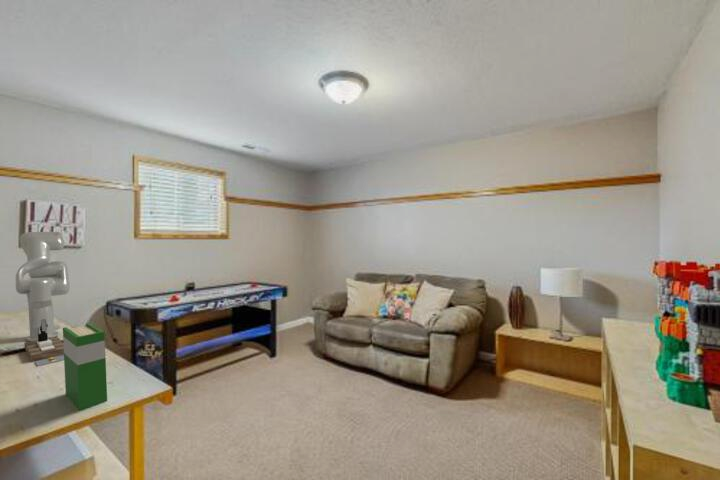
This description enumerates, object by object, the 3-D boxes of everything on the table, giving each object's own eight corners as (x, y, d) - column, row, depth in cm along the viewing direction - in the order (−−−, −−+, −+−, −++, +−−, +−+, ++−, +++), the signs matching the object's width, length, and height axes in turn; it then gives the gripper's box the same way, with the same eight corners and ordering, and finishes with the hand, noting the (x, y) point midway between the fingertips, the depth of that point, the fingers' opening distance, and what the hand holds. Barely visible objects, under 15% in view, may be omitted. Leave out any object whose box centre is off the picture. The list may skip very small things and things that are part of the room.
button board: (24, 348, 163) (24, 342, 163) (57, 341, 172) (57, 336, 172) (31, 362, 147) (31, 355, 146) (67, 353, 156) (67, 347, 156)
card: (35, 362, 146) (35, 360, 146) (65, 355, 154) (65, 354, 154) (37, 366, 142) (37, 365, 142) (68, 359, 150) (68, 357, 149)
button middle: (38, 346, 159) (38, 342, 159) (50, 344, 162) (50, 339, 162) (39, 348, 156) (39, 344, 156) (52, 346, 160) (52, 341, 160)
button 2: (40, 352, 155) (40, 347, 155) (53, 349, 158) (53, 345, 158) (42, 354, 152) (41, 350, 152) (54, 351, 155) (54, 347, 155)
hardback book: (65, 394, 118) (62, 327, 117) (91, 386, 124) (89, 322, 123) (79, 410, 107) (76, 337, 106) (107, 401, 113) (104, 331, 112)
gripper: (28, 303, 165) (30, 340, 165) (32, 308, 155) (34, 346, 156) (49, 301, 171) (50, 336, 171) (54, 305, 161) (55, 342, 162)
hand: (43, 341), depth 163 cm, fingers closed
